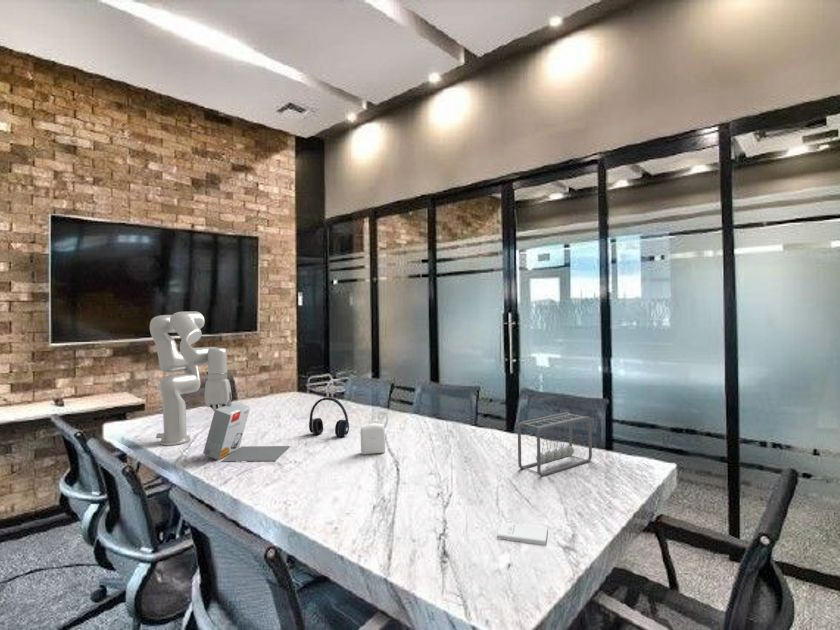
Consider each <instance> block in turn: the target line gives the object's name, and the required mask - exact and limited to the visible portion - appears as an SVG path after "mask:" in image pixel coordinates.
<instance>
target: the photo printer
mask: <svg viewBox="0 0 840 630" xmlns="http://www.w3.org/2000/svg"><path fill="white" fill-rule="evenodd" d="M384 426H385V425H384V424H381V423H375V422H373V423H372V422H371V423H367V424H364V425H362V426H361V429H360V447H361V448H360V453H361V455H370V454H383V453H386V434H385V433H386V432H385V431H386V430H385V427H384Z"/></svg>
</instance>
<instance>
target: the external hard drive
mask: <svg viewBox="0 0 840 630" xmlns="http://www.w3.org/2000/svg"><path fill="white" fill-rule="evenodd" d="M497 531H498V532H497V534H496V539H497V538H501V539H500V540H504V539H509V540H508V541H512V540H514V542H519V541H522V542H521V543H526V542H529V543H528V544H534V543H535V545H536V544H537V545H542V546H546V545H547V540H548V539H547V538H548V531H549V530H548V527H545V526H539V525H538V526H537V525H531V524H530V525H529V524H521V523H512V522H505V521H504V522H503V521H501V523H500V526H499V528H498V530H497Z"/></svg>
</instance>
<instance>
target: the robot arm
mask: <svg viewBox="0 0 840 630" xmlns="http://www.w3.org/2000/svg"><path fill="white" fill-rule="evenodd" d="M205 323H206V322H205V316H204V315H203V313H201V312H199V311H178V312H175V313H173V314H163V315H162V314H160V315H156V316H154V317H152V318H151V320H150V322H149V332H150V335H151V338H152V340H153V342H154V344H155V347H156V352H157V358H158V363H159V368H160V371H162V372H163V373H166V374H168V373H169V375H166V376H164V377H162V379H160V382H159V388H160V389H159V390H160V393H161V398H162V399H161V400H162V415H163V416H162V418H163V419H162V421H163V432H159V433H156V434H155V435H156V436H155V438H156V439H161V440H160V441H159V444H160V445H162V446H176V445H181V444H185V443H189V441H191V437H190V436H189V435H187V432H188V431H187V404H186V401H185V400H184V399H183V397H182V396H181V395H183V394H190V393H194V392H198V390H199V389H200V387H201V383H202V382H201V376H200V372H199V367H198V366H204V365H205V366H206V365H207V374H205V375H204V377H205V378H206V379H207V380H206V381H205V386H204V396H203V397H204V398H203V399H204V404H205V407H207V408H211V410H213V412H215V409H218V408H221V407H223V406H226V405H228V406H231V405H232V404H231V403H232V400H233V397H232V389H231V387H232V386H231V383H230V379H228V357H227V349H226V348H224V347H216V346H207V347H206V346H203V347H192V345H194V344H195V343H197V342H198V341H199V340H200V339H201V338H202V330H201V329H202V328H203V327H204V326H205ZM171 333H173V334H174V333H176V334H178V336H179V338H180V339H181V341H180V342H179V350H178V346H177V342H176V340H175V339H174V338H173V337H172V336H171V335H170V334H171ZM177 372H179V373H177ZM180 372H184V373H180ZM170 373H177V374H170Z"/></svg>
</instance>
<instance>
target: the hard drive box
mask: <svg viewBox="0 0 840 630" xmlns="http://www.w3.org/2000/svg"><path fill="white" fill-rule="evenodd" d="M231 404H232V405H231V406H228V405H226V406H223V407H221V408H218V409H215V411H213V412H214V413H213V415H212V419H211V423H210V427H209V431H208V433H207V438H206V441H205V444H204V449H203V452H202V454H203V455H205V456H208V457H210V458H213V459H214V460H217V461H218V460H221V459H223V458H226V456H229V455H230V454H232V453H233V452H235V451H236V450H237V449H239V448H240V447H241V443H242V440H243V435H244V432H245V429H246V424H247V421H248V416H249V414H250V409H251V406H249V405H247V404H244V403H241V402H239V401H234V402H231Z"/></svg>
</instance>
